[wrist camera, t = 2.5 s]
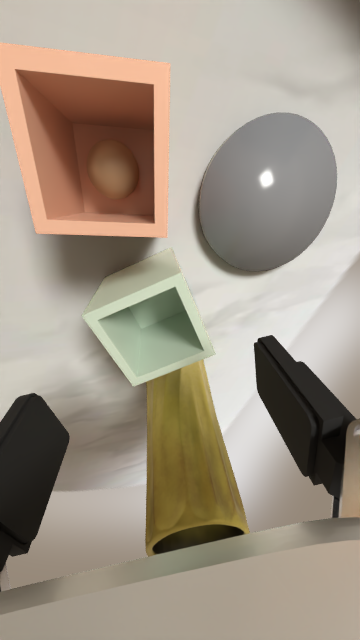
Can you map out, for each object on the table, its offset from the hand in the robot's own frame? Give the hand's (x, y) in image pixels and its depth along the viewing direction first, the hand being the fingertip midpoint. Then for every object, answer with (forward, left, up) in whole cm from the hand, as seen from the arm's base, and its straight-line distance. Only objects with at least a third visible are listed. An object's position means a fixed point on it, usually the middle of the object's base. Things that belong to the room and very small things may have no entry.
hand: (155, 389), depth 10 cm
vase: (+8, 0, -12) cm, 14 cm away
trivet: (-5, +10, -11) cm, 16 cm away
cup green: (0, 0, -11) cm, 11 cm away
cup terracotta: (-9, 0, -11) cm, 14 cm away
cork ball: (-9, 0, -11) cm, 14 cm away
